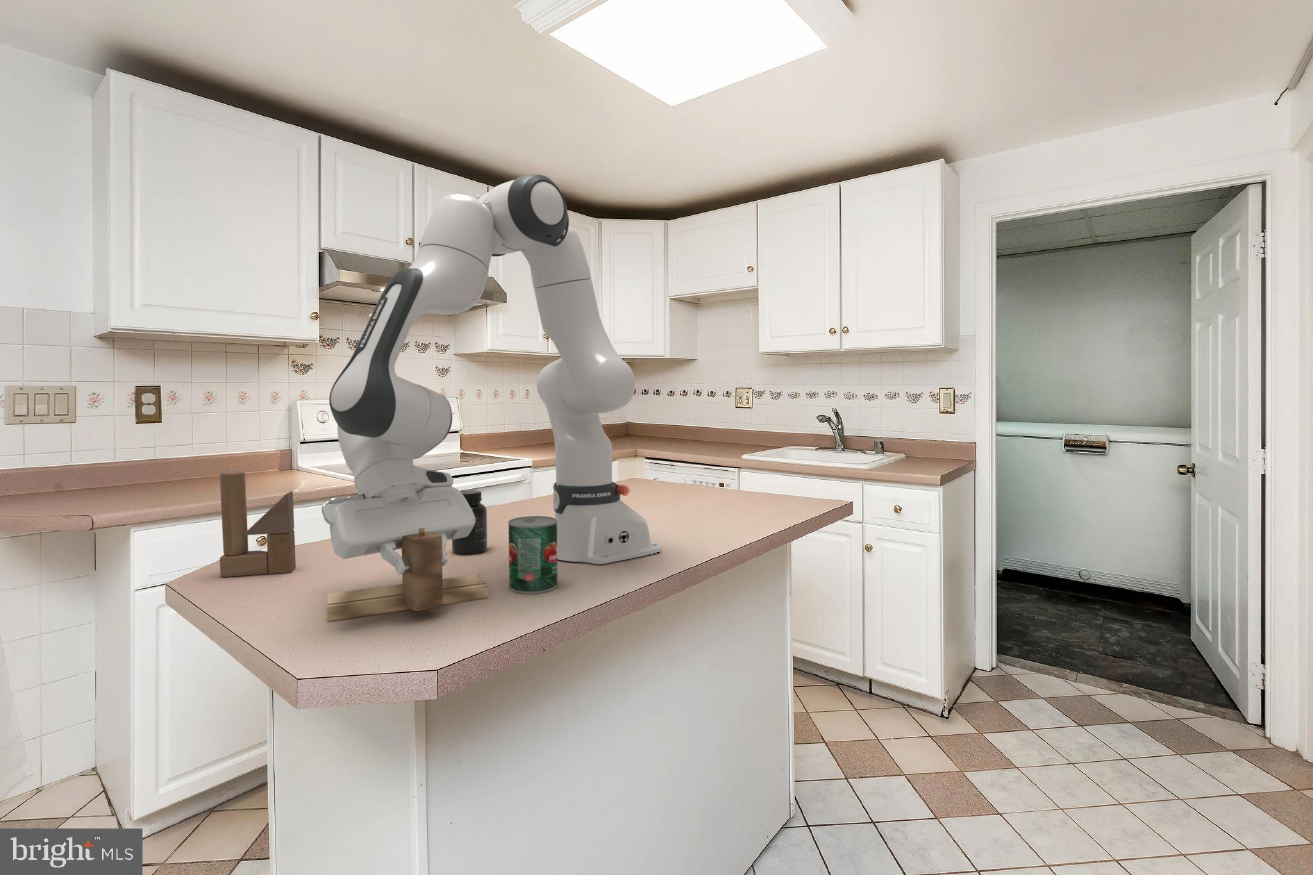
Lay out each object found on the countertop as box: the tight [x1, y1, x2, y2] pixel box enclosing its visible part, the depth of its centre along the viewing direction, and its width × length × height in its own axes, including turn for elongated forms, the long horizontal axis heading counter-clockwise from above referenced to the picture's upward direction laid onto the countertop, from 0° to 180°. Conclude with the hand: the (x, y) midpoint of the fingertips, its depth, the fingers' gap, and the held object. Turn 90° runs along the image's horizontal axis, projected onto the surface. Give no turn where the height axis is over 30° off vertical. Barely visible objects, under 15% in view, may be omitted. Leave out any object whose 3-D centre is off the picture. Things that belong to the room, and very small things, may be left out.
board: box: [326, 574, 489, 622], centre depth 94 cm, size 22×6×2 cm, turn 117°
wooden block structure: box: [219, 470, 297, 578], centre depth 108 cm, size 4×11×18 cm, turn 107°
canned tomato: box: [507, 515, 559, 595], centre depth 101 cm, size 8×8×11 cm
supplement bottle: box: [451, 489, 488, 556], centre depth 124 cm, size 7×7×12 cm
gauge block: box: [401, 528, 444, 612], centre depth 88 cm, size 4×4×11 cm
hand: (424, 568), depth 87 cm, fingers closed on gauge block, 4 cm apart
